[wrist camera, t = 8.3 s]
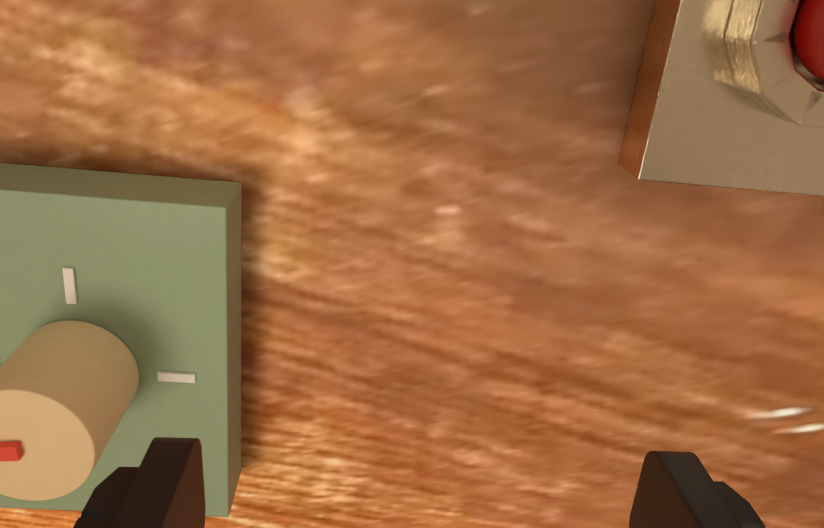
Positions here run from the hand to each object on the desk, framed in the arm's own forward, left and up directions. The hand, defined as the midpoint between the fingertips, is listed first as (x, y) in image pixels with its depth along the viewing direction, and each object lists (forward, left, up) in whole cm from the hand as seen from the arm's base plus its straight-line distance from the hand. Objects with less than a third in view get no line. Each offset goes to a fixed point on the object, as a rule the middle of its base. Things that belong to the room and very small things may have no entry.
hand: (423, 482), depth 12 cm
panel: (-7, +12, -16) cm, 21 cm away
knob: (-7, +12, -13) cm, 19 cm away
